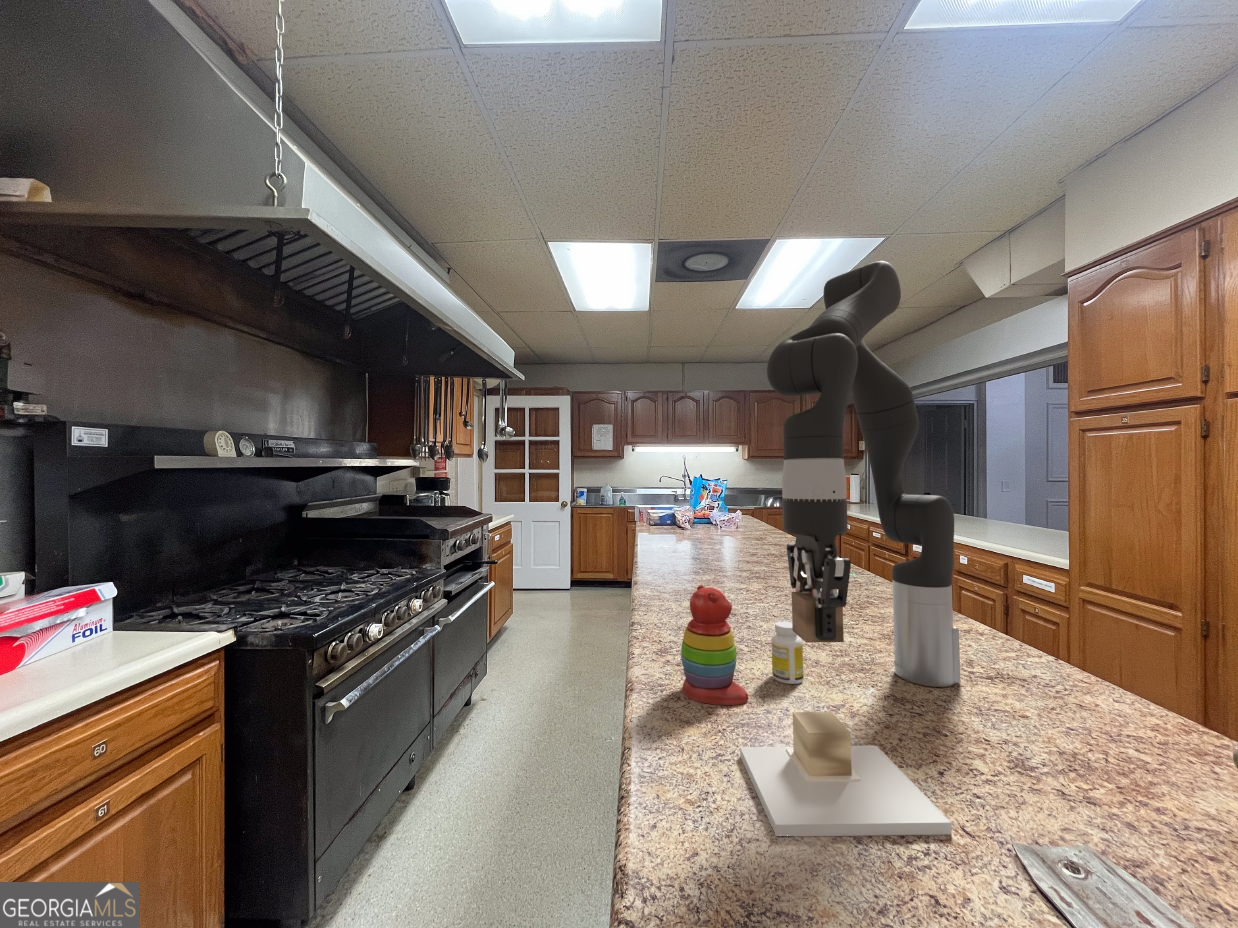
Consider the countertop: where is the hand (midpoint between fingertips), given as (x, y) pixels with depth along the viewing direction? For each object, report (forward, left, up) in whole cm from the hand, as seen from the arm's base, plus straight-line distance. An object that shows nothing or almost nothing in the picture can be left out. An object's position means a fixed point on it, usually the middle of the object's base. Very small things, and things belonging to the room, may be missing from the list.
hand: (816, 631), depth 59 cm
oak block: (0, 0, -16) cm, 16 cm away
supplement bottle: (-6, -28, -18) cm, 33 cm away
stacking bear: (+9, -23, -18) cm, 30 cm away
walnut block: (0, 0, -1) cm, 1 cm away
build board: (0, +3, -17) cm, 18 cm away
